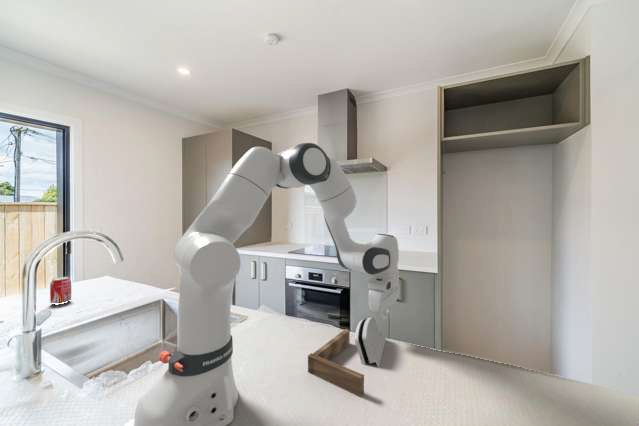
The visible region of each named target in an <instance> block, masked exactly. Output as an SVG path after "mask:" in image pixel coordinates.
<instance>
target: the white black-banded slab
mask: <svg viewBox="0 0 639 426" xmlns="http://www.w3.org/2000/svg"><path fill="white" fill-rule="evenodd" d="M354 333H355V335H354V342H355V345H356V346H355V347H356V349H357V353H358V356H359V359H360V363H361V364H362V365H366V363H369V364H373V363H375V364H376V366H377V367H376V368H380V367H381V366H380V365H381V362H382V356H383V354H384V353H383V352H384V350H385V345H386V340H387V339H386V337H385V334H384V333H381V332H380V329H379V326H378V325H377V322H376V319H375V318H374V317H368V318H367V317H366V318H364V319H361V320H360V321H359V322H358V323H357V325H356V328H355V332H354Z"/></svg>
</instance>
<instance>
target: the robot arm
mask: <svg viewBox="0 0 639 426" xmlns="http://www.w3.org/2000/svg"><path fill="white" fill-rule="evenodd" d="M349 180H350V179H348V177H347V175H346V173H345V171H344V170H343V168H342V167H341V166H340V164H339V163H338V162H337V160H336V159H335V158H333V157H331V156H328V155H327V153H326V152H325V151H324V149H322V147H321V146H319V145H317V144H316V143H313V142H303V143H300V144H297V145H295V146H292V147H287V148H286V149H284V150H283V151H280V152H278V153H274V151H272V150H271V149H269V148H268V147H264V146H254V147H252V148H251V147H250V149H249V150H248V151H246V152H245V153H244V154H243V156H242V157H240V159H239V160H238V161H237V162H236V163H235V164H234V165H233V167H232V168H231V170H230V171H229V173H228V174H227V176H226V177H225V178H224V180H223V182H222V183H221V185H220V186H219V188H218V190H217V191H216V192H215V193H214V195H213V196H212V198H211V199H210V201H209V202H208V203H207V205H206V206H205V207H204V208H203V210H202V211H200V214H198V216H197V217H196V218H195V219H194V221H193V222H192V223H191V224H190V226H189V227H188V228H187V230H186V231H185V232H184V233H183V235H182V236H181V237H180V239H179V241H178V242H177V243H176V245H175V247H174V250H173V261H174V264H175V265H176V267H177V268H178V271H179V276H180V283H179V297H178V298H179V299H178V306H177V311H176V313H177V314H176V319H177V320H176V322H177V323H176V324H177V326H176V327H177V330H176V334H177V339H176V342H177V344H176V347H175V348H174V351H173V353H170V352H169V351H168V350H163V351H161V352H160V353H159V355H158V361H160V362H161V363H162V364H163V365H164V364H165V365H166V364H168V367H167V368H166V369H165V370H164V371H163V372H162V374H161V375H160V376H159V377H158V378H157V379H156V380H155V381H154V382H153V383H152V384H151V385H150V387H148V389H146V391H145V392H144V393H143V394H142V395H141V396H140V397H139V400H138V401H137V403H136V404H137V405H136V407H135V412H134V417H133V418H131V419H130V420H129V421H127V422H126V423H125V424H123V426H227V425H229V424H231V423H232V422H233V421H234V415H235V414H234V412H235V411H234V410H235V407H236V405H237V403H238V400H239V390H238V389H237V385H236V382H235V377H234V372H233V371H234V370H233V361H232V356H233V352H234V349H233V348H234V343H233V335H232V334H231V331H232V330H231V326H232V325H231V323H232V322H231V321H232V320H231V317H232V315H231V314H232V313H231V312H232V311H231V307H232V306H231V305H232V298H233V294H234V293H233V292H234V288H235V283H236V277H237V276H238V274H239V273H240V269H241V257H240V254H239V252H238V250H237V248H236V247H235V245H234V244H235V243H236V241H237V240H238V239H239V238H240V237H241V235H243V233H244V232H246V231H247V229H249V228H250V227H252V225H253V224H254V223H255V221H256V219H257V217H258V215H259V214H260V212H261V210H262V209H263V207H264V205H265V203H266V202H267V200H268V198H269V197H270V195H271V193H272V191H273V189H274V188H275V187H277V188H280V189H286V190H287V189H291V188H302V187H306V186H309V187H310V188H311V189H312V190H313V191H314V193H315V196H316V198H317V200H318V202H319V204H320V206H321V209H322V211H323V217H324V218H323V219H324V222H325V224H326V227H327V229H328V231H329V234H330V236H331V239H332V242H333V244H334V247H335V252H336V259H337V262H338V264H339V265H340V266H341V268H343V269H345V270H350V271H351V270H352V271H356V272H359V273H363V274H365V275H371V278H370V279H369V280H368V282H367V288H368V289H369V290H368V309H369V311H370V313H373V314H377V315H381V319H383V320H388V318H389V317H390V313H391V307H392V305H393V304H394V303H395V302H396V301H397V300H398V299H399V298H400V294H401V293H400V281H399V276H400V273H399V267H398V263H399V260H400V259H399V255H400V252H399V243H398V239H397V237H396V236H394V235H391V234H385V233H377V234H374V238H373V239H371V241H369V242H367V243H366V244H364V243H358V242H356V241H355V240H353V239H352V238H351V237H350V233H349V231H348V229H347V228H348V227H347V226H346V223H345V219H346V218H348V217H349V216H350V215H352V213H353V212H354V210H355V208H356V205H357V198H356V197H357V196H356V194H355V191H354V189H353V186H352V185H351V182H350V181H349Z"/></svg>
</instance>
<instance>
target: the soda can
mask: <svg viewBox="0 0 639 426" xmlns="http://www.w3.org/2000/svg"><path fill="white" fill-rule="evenodd" d="M49 299H50V300H49V301H50V302H49V303H50V304H51V303H62V302H66V301H69V300H72V280H71V278H70V277H69V276H61V277H54V278H51V281H50V284H49ZM69 302H70V301H69Z"/></svg>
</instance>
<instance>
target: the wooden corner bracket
mask: <svg viewBox="0 0 639 426" xmlns="http://www.w3.org/2000/svg"><path fill="white" fill-rule="evenodd" d="M350 344H351V341H350V329H347V328H345V329H343V330H342V331H340V333H338V334H337V335H336V336H334V337H332V339H330V340H329V341H328V342H326V343H325V344H324V345H322V346H321V347H320V348H318V349H317V350H315V351H314V352H313V353H310V354H308V355H307V373H309V374H311V375H314V376H315V377H317V378H319V379H322V380H324V381H325V382H328V383H330V384H332V385H334V386H336V387H338V388H340V389H343V390H345V391H347V392H349V393H351V394H353V395H356V396H358V397H360V398H362V397H363V395H364V394H365V375H364V374H362V373H360V372H358V371H356V370H352V369H351V368H348V367H346V366H343V365H341V364H339V363H336V362H334V361H332V360H333V359H334V358H335V357H336V356H337V355H338V354H339V353H341V352H342V351H343V350H344V349H346V348H347V346H349V345H350Z"/></svg>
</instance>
